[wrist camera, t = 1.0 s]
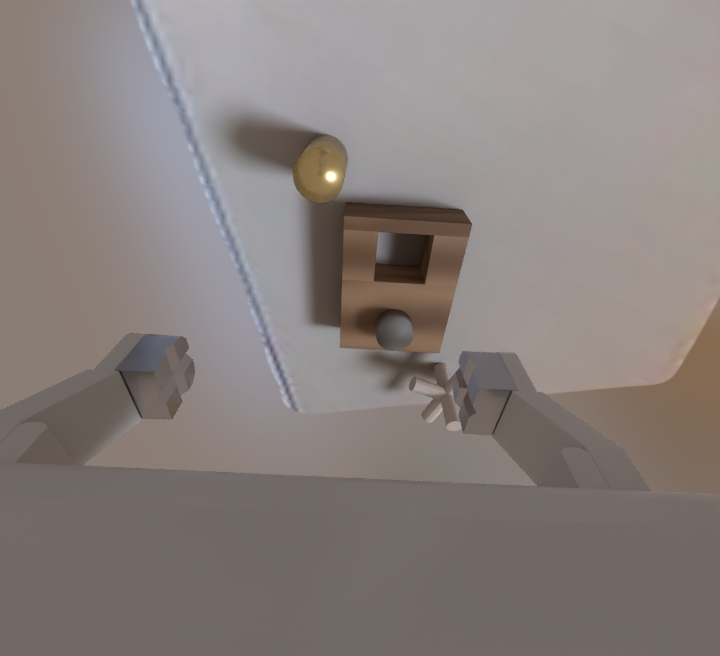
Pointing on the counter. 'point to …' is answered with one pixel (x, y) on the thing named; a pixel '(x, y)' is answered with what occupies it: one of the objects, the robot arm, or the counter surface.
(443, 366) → the pipe connector
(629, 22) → the counter surface
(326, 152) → the tan cylinder
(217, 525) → the robot arm
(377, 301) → the jig
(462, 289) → the counter surface
